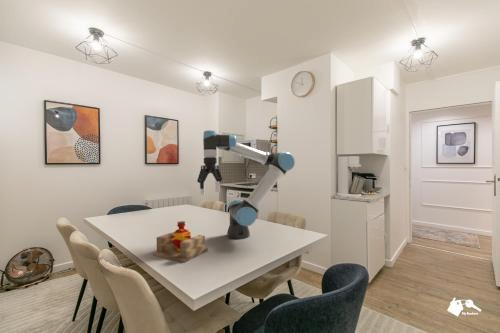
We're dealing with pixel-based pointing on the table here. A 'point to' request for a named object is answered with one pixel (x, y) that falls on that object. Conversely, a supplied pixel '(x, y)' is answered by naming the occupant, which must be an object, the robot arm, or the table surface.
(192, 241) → the notched wooden block
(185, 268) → the table surface
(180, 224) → the potion bottle
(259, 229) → the table surface
